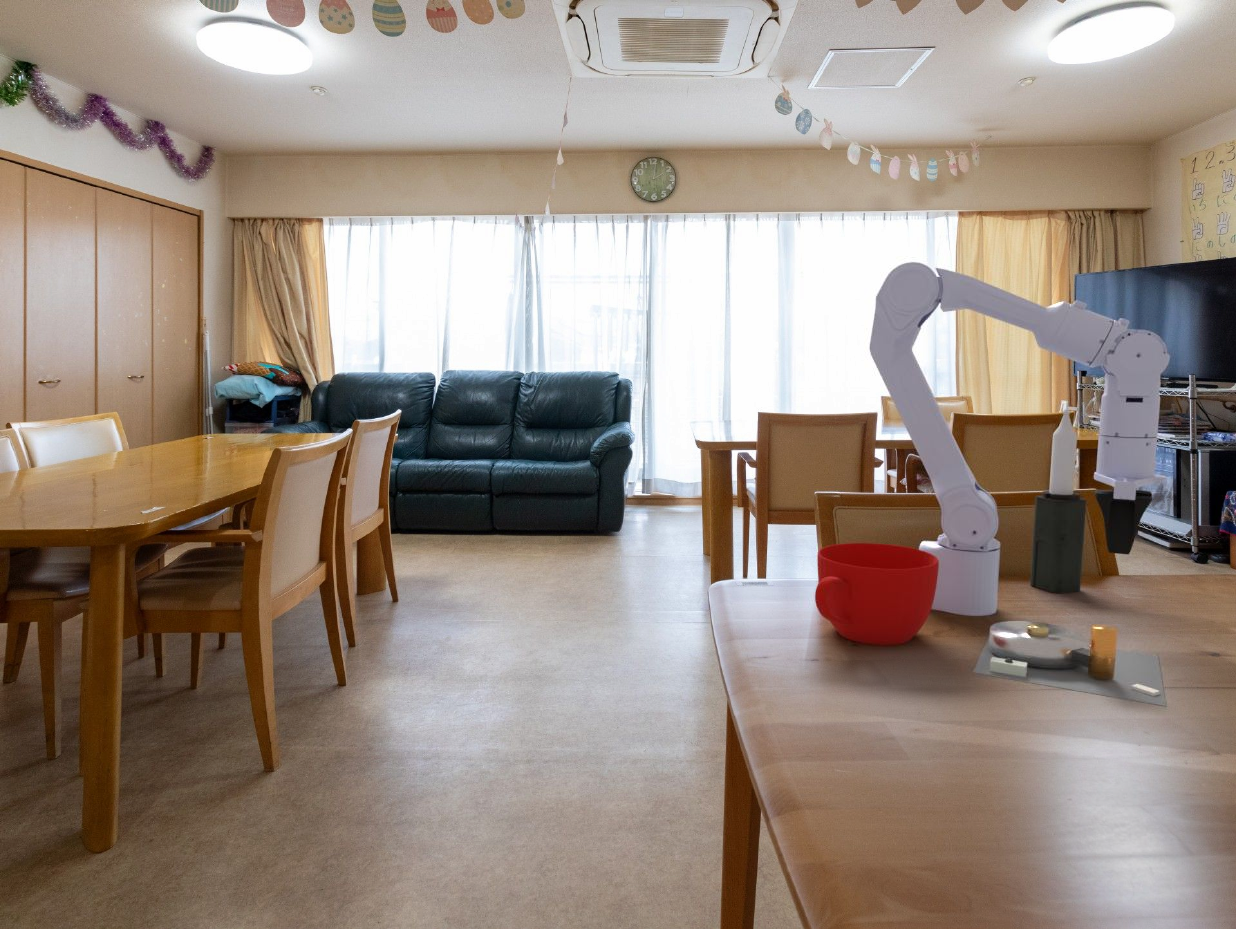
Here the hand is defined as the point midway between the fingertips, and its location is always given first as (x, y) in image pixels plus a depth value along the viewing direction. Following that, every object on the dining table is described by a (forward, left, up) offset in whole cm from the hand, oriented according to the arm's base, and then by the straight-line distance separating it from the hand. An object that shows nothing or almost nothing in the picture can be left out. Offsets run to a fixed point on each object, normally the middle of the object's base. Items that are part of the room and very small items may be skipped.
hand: (1118, 552), depth 97 cm
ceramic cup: (-24, -20, -10) cm, 33 cm away
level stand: (-4, -18, -9) cm, 21 cm away
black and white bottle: (-7, +18, -10) cm, 22 cm away
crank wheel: (-5, -18, -8) cm, 20 cm away
